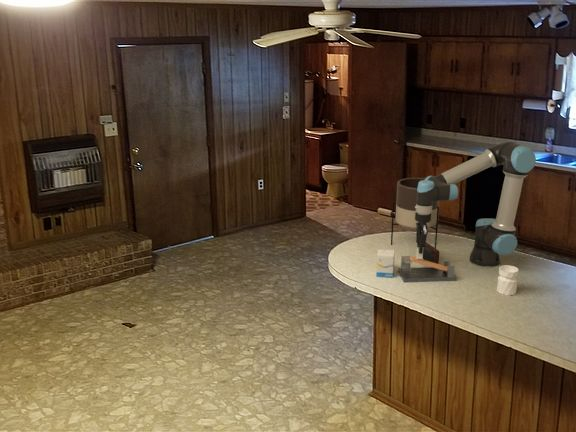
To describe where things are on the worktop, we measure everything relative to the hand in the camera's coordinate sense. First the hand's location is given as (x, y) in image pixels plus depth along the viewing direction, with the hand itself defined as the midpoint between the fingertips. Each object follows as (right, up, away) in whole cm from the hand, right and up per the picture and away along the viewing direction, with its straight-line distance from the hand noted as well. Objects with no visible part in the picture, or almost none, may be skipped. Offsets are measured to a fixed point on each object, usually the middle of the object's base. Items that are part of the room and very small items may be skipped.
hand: (419, 258), depth 314 cm
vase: (+38, -15, -12) cm, 43 cm away
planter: (+9, +5, +50) cm, 51 cm away
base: (+5, -9, +6) cm, 12 cm away
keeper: (-5, -7, +8) cm, 11 cm away
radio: (+10, -3, +24) cm, 26 cm away
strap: (+6, -3, +2) cm, 7 cm away
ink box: (-15, -9, +9) cm, 20 cm away
